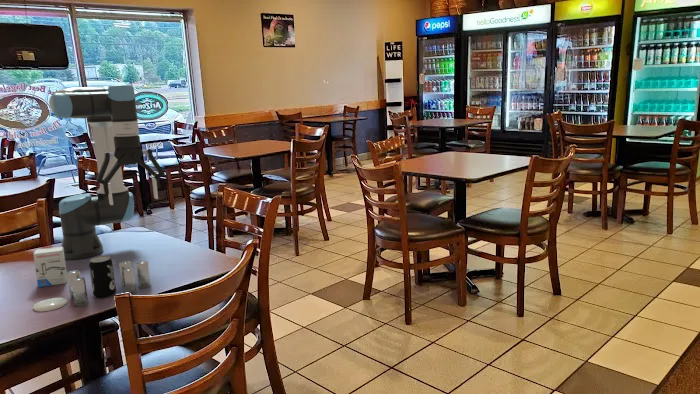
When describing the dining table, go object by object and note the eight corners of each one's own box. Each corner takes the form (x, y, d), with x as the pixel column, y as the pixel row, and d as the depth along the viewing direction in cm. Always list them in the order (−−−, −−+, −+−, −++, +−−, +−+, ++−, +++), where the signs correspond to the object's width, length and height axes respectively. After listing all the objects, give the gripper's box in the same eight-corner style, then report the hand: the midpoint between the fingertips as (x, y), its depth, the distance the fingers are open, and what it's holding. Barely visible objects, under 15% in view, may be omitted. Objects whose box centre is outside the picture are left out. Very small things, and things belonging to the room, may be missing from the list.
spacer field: (70, 295, 163) (66, 271, 161) (146, 279, 175) (144, 257, 173) (73, 308, 153) (70, 282, 152) (154, 290, 165) (151, 266, 164)
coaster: (32, 304, 157) (32, 302, 157) (65, 296, 162) (65, 295, 162) (33, 314, 150) (33, 312, 150) (68, 306, 155) (68, 305, 154)
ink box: (37, 287, 170) (32, 253, 168) (39, 282, 175) (34, 249, 172) (66, 283, 174) (61, 250, 171) (68, 278, 178) (63, 246, 176)
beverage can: (107, 299, 159) (102, 262, 157) (88, 298, 161) (83, 261, 158) (120, 291, 165) (116, 255, 163) (102, 290, 167) (97, 254, 164)
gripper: (83, 139, 152) (93, 209, 156) (170, 133, 165) (176, 197, 169) (80, 137, 158) (89, 204, 162) (164, 131, 171) (170, 194, 176)
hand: (134, 201), depth 166 cm, fingers open, 13 cm apart
